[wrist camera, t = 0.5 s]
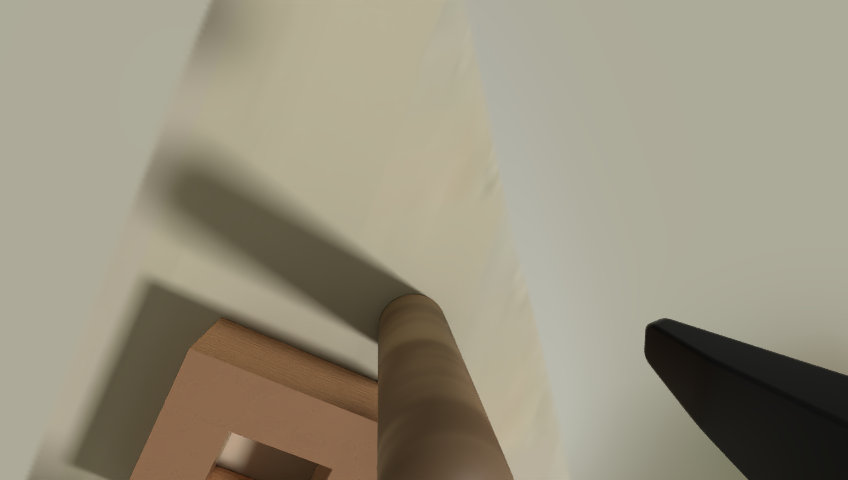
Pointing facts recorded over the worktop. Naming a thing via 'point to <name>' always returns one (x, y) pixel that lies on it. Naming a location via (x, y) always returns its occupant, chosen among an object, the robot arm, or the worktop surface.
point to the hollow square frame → (261, 410)
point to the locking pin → (429, 401)
